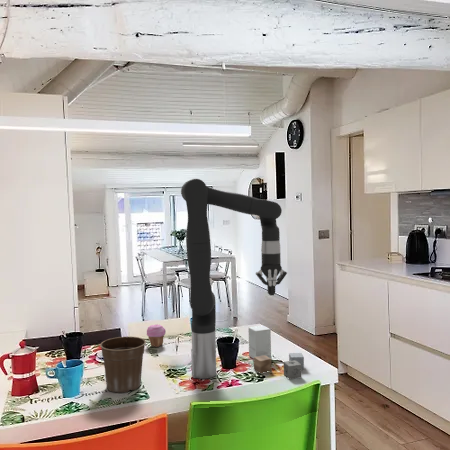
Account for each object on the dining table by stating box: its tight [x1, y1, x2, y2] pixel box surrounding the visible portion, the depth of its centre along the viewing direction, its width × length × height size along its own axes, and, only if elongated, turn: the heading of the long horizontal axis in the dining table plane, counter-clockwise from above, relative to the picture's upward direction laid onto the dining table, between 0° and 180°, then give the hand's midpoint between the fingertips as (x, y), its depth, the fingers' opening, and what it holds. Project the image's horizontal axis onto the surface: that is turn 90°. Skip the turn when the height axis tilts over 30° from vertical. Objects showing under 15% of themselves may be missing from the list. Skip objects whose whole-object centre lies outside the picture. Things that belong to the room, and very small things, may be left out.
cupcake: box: [146, 323, 166, 348], centre depth 207 cm, size 9×9×10 cm
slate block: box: [288, 352, 305, 370], centre depth 176 cm, size 5×5×5 cm
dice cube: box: [283, 360, 302, 380], centre depth 167 cm, size 5×5×5 cm
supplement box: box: [248, 324, 272, 360], centre depth 188 cm, size 7×7×13 cm
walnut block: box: [253, 355, 272, 374], centre depth 173 cm, size 5×5×5 cm
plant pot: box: [99, 336, 147, 394], centre depth 160 cm, size 16×16×16 cm
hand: (271, 295), depth 176 cm, fingers closed
